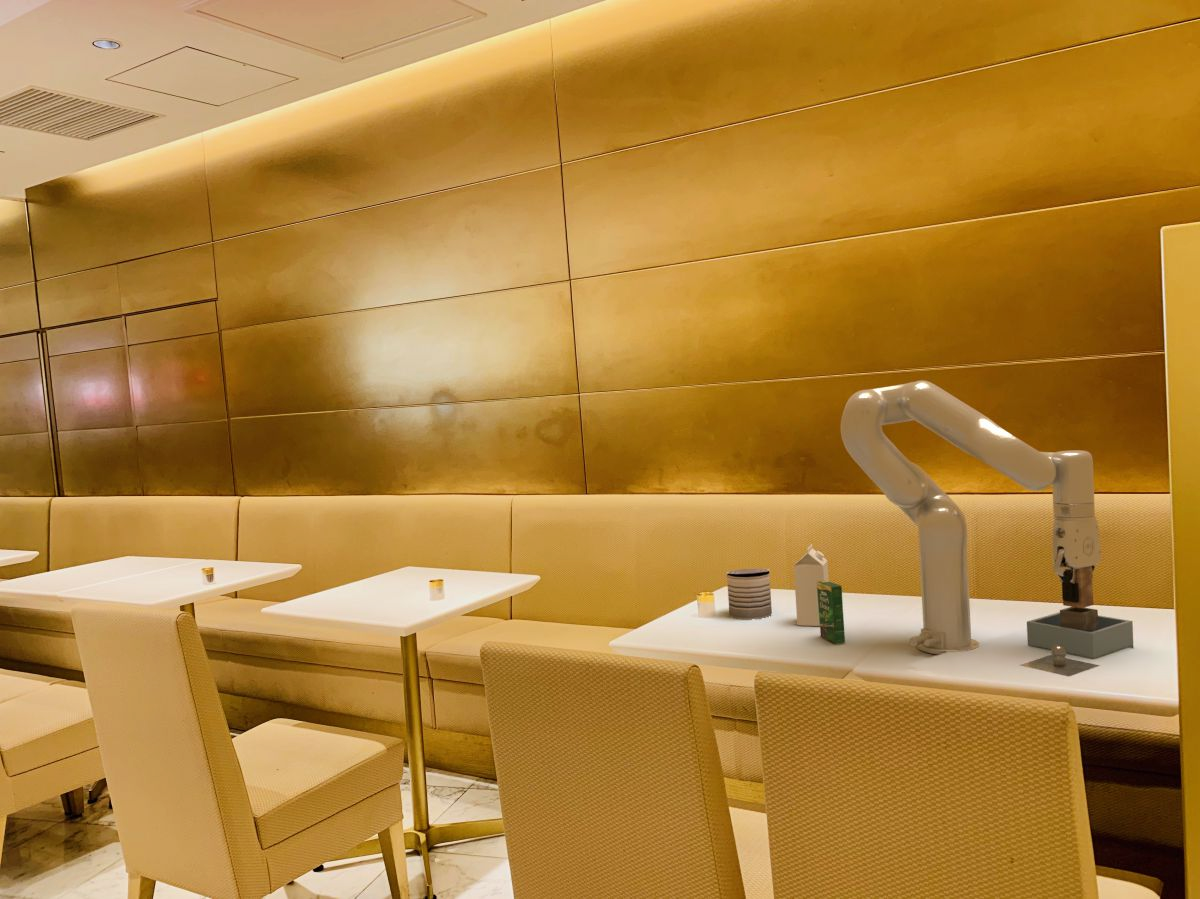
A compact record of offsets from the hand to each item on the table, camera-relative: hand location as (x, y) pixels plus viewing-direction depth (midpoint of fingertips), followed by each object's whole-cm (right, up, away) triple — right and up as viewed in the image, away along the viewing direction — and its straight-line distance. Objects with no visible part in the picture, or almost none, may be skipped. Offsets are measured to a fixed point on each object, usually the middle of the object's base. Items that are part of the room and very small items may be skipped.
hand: (1077, 598), depth 185 cm
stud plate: (-9, -12, -11) cm, 19 cm away
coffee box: (-45, -13, +21) cm, 51 cm away
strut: (+1, -7, 0) cm, 7 cm away
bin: (+1, -11, 0) cm, 11 cm away
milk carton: (-45, -12, +37) cm, 60 cm away
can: (-59, -13, +50) cm, 78 cm away
